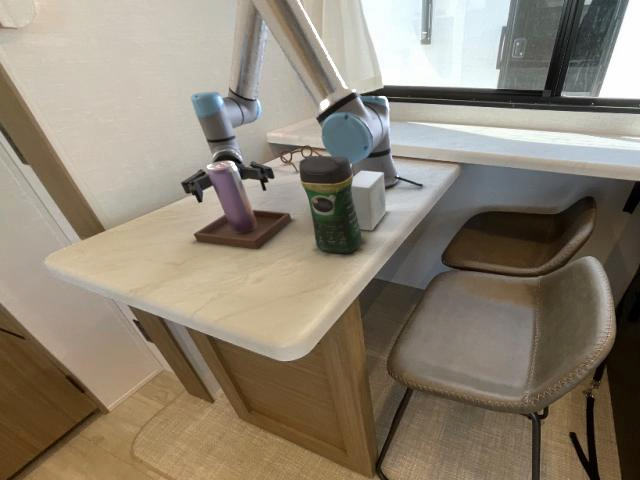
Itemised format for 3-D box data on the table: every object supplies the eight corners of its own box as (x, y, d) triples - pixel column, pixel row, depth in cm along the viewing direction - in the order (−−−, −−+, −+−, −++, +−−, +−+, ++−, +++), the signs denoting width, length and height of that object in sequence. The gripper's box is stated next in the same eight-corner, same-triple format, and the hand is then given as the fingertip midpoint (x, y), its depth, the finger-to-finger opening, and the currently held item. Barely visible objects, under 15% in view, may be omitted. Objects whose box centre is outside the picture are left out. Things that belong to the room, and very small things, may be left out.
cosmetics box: (373, 231, 74) (368, 186, 67) (348, 228, 75) (341, 184, 69) (387, 212, 81) (384, 171, 75) (364, 210, 83) (359, 169, 76)
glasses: (313, 157, 124) (310, 143, 121) (329, 164, 116) (326, 149, 113) (281, 165, 118) (277, 150, 115) (296, 172, 110) (293, 157, 107)
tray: (291, 220, 80) (289, 213, 79) (257, 249, 70) (254, 241, 68) (237, 215, 84) (234, 208, 83) (197, 241, 74) (193, 233, 72)
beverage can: (242, 236, 74) (216, 170, 64) (227, 231, 76) (199, 166, 67) (263, 226, 77) (241, 162, 68) (247, 221, 80) (224, 159, 70)
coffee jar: (366, 238, 71) (355, 151, 59) (353, 257, 65) (339, 164, 54) (327, 235, 73) (309, 149, 62) (312, 252, 68) (288, 162, 56)
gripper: (279, 171, 91) (292, 196, 76) (184, 188, 83) (176, 218, 68) (271, 143, 86) (283, 163, 71) (169, 158, 79) (158, 184, 64)
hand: (231, 190), depth 70 cm, fingers open, 13 cm apart
